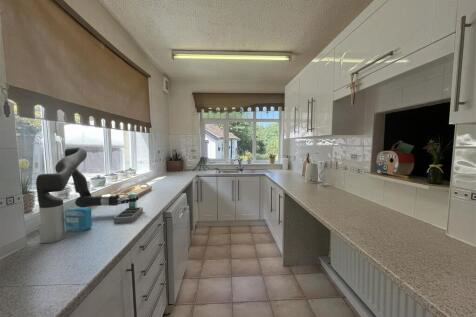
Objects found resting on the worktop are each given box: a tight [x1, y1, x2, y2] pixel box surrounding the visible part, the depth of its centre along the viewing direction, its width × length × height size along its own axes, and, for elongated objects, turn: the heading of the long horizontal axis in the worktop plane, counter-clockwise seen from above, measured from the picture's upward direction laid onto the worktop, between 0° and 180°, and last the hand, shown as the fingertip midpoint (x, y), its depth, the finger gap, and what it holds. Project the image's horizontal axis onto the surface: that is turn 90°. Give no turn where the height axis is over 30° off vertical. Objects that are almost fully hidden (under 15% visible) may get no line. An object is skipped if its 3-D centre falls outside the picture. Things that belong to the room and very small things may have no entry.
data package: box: [64, 206, 93, 232], centre depth 125 cm, size 12×4×12 cm, turn 89°
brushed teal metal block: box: [127, 192, 138, 209], centre depth 152 cm, size 4×4×10 cm
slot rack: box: [113, 206, 144, 224], centre depth 146 cm, size 22×11×4 cm, turn 8°
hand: (136, 199), depth 153 cm, fingers closed on brushed teal metal block, 3 cm apart
